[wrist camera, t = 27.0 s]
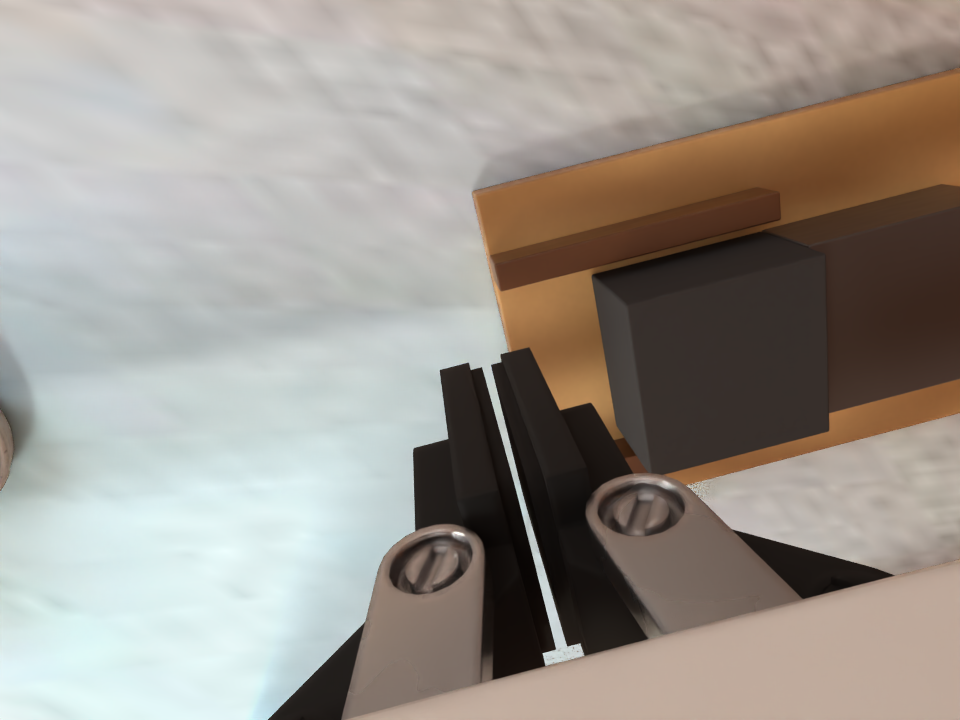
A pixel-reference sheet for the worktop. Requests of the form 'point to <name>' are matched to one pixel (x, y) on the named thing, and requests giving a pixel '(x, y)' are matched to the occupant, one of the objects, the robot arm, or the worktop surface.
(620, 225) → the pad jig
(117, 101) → the worktop surface
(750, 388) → the dark grey square block
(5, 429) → the ceramic mug
